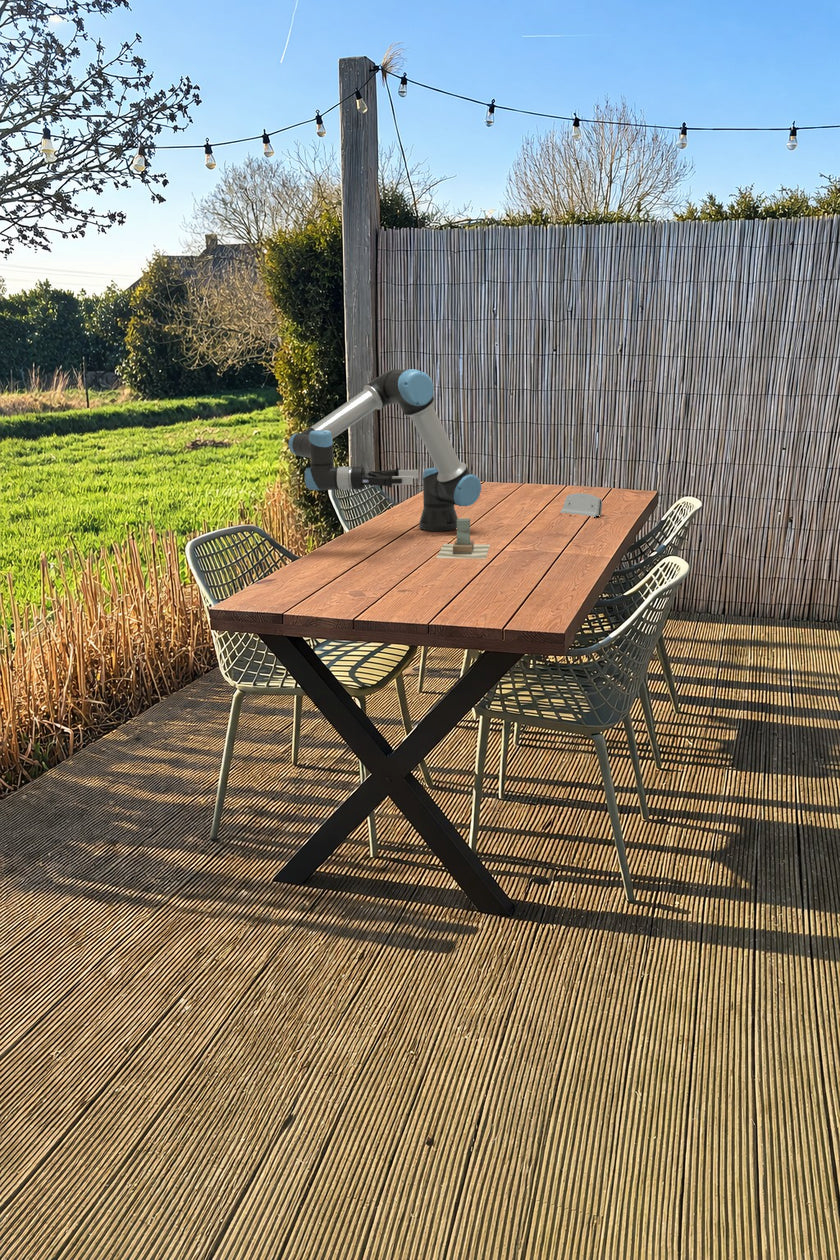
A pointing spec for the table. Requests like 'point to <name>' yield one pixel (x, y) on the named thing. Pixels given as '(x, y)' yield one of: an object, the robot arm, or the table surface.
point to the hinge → (582, 505)
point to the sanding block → (463, 537)
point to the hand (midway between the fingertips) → (415, 477)
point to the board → (477, 553)
